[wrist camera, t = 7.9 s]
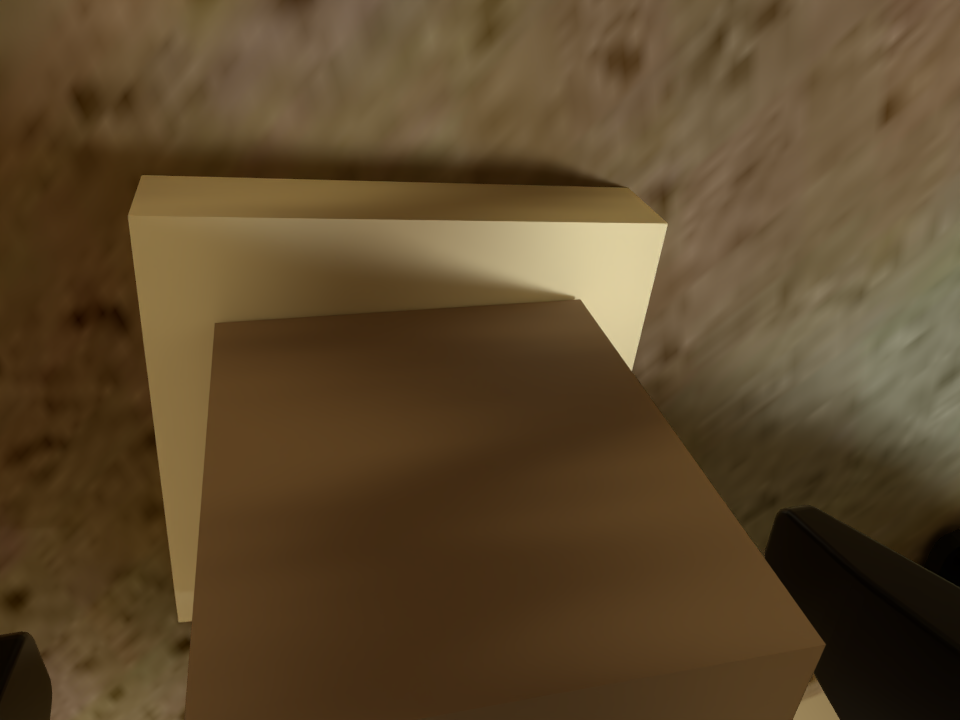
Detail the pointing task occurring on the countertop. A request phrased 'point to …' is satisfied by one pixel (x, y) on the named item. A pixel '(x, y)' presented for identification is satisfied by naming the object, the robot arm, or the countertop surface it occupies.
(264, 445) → the walnut cube
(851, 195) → the countertop surface
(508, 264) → the birch block
